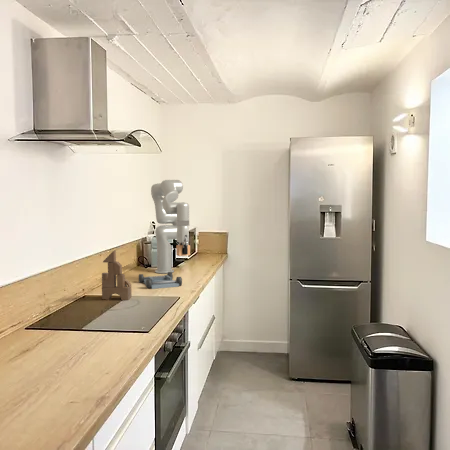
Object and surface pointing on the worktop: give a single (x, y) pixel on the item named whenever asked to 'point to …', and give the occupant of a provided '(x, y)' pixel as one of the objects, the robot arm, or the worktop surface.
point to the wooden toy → (110, 280)
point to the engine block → (179, 250)
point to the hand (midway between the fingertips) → (183, 253)
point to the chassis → (160, 281)
